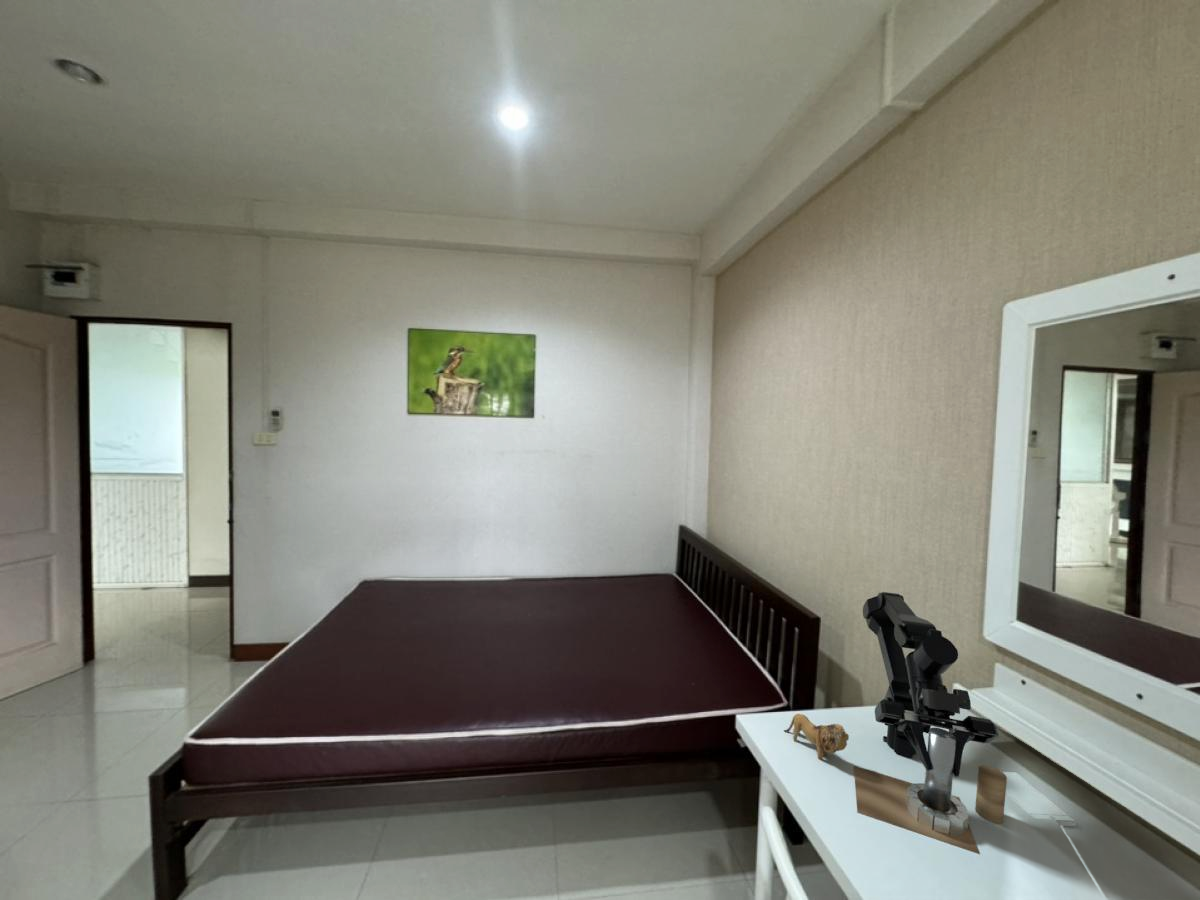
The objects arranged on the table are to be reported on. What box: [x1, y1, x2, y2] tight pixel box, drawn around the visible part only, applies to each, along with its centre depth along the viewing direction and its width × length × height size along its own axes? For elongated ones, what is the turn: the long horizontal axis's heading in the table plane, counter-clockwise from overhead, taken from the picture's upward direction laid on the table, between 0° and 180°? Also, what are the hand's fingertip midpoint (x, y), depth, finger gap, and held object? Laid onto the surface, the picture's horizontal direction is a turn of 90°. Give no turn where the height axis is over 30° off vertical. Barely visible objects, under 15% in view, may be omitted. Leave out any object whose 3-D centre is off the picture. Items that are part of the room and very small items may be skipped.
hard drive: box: [1002, 771, 1077, 827], centre depth 94 cm, size 2×8×12 cm
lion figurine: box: [783, 713, 850, 761], centre depth 105 cm, size 15×5×9 cm, turn 36°
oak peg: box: [974, 764, 1007, 825], centre depth 88 cm, size 4×4×9 cm
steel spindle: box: [923, 727, 956, 812], centre depth 87 cm, size 4×4×13 cm
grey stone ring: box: [906, 782, 970, 836], centre depth 88 cm, size 9×9×2 cm
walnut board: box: [853, 765, 981, 855], centre depth 90 cm, size 14×18×1 cm
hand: (942, 773), depth 86 cm, fingers closed on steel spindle, 4 cm apart
